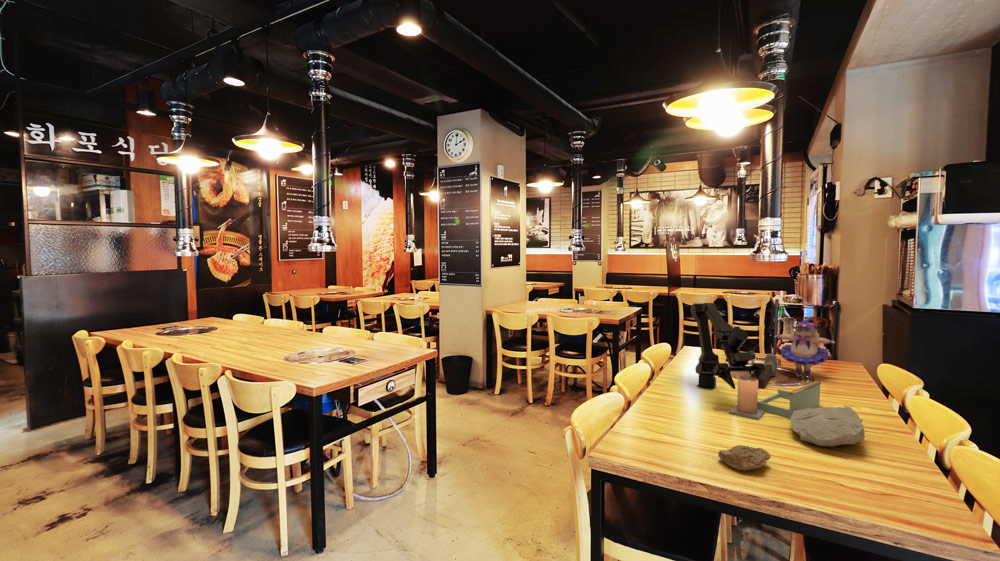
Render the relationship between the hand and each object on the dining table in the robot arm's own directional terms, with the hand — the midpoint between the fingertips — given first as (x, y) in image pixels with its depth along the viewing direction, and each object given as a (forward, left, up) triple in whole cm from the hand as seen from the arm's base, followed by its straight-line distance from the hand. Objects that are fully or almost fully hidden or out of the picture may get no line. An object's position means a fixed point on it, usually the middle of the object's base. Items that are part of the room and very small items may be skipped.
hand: (746, 388), depth 177 cm
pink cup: (+1, -1, -8) cm, 8 cm away
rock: (+11, -49, -10) cm, 52 cm away
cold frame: (+10, +18, -9) cm, 23 cm away
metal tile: (+1, -1, -9) cm, 9 cm away
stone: (+26, -7, -10) cm, 28 cm away
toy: (+8, +75, -10) cm, 76 cm away
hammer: (-4, +53, -10) cm, 54 cm away
